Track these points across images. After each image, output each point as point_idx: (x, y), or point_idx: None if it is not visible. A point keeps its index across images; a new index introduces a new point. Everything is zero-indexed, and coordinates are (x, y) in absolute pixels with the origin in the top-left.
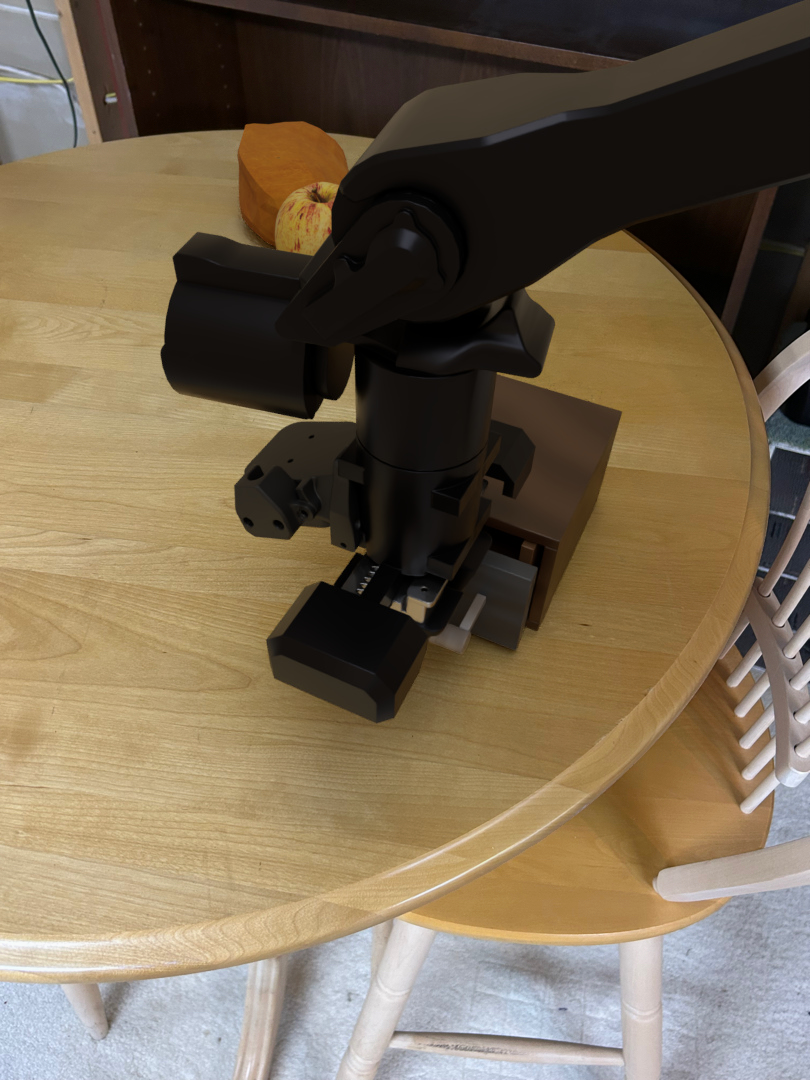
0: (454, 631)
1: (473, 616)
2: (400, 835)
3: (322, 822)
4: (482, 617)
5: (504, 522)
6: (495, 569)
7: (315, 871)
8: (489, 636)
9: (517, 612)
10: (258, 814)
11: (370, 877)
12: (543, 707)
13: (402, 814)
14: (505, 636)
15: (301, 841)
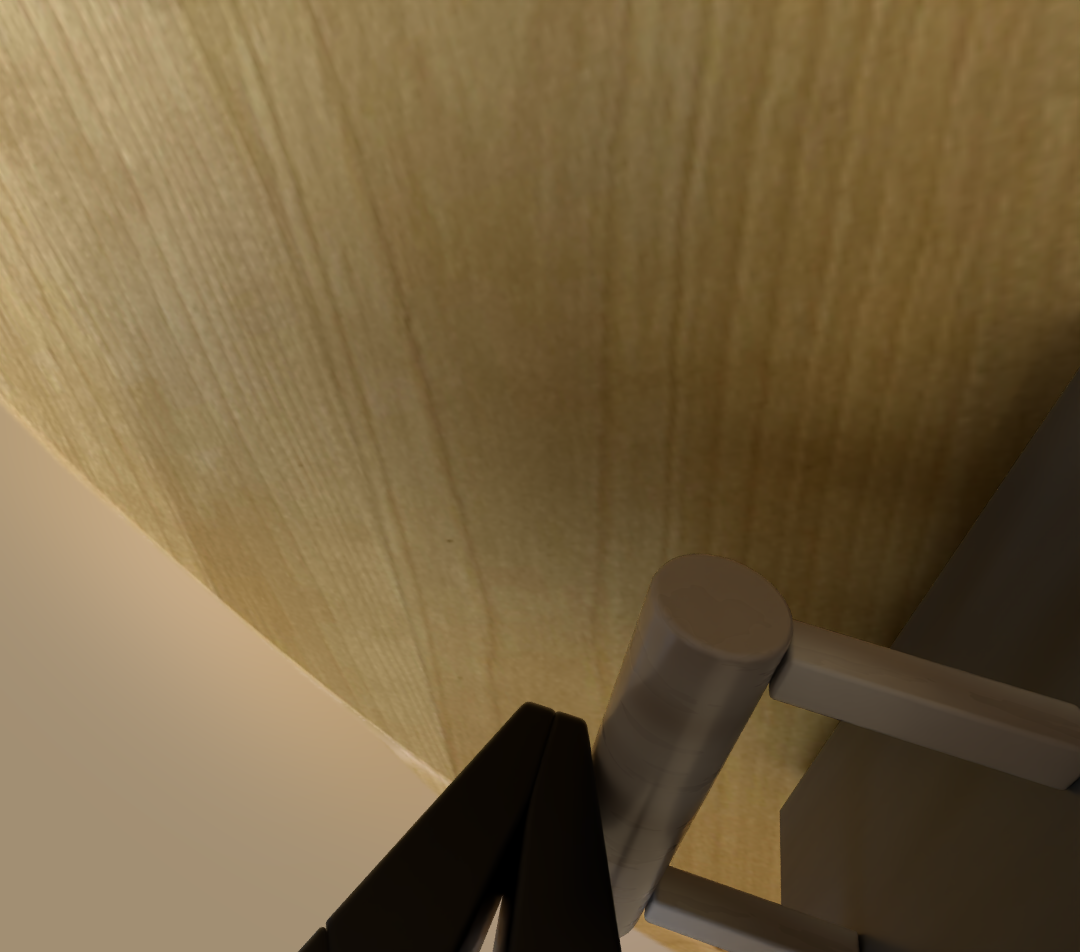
0: None
1: (717, 946)
2: (202, 533)
3: (119, 353)
4: (833, 846)
5: None
6: None
7: (21, 365)
8: (814, 780)
9: None
10: (21, 154)
11: (92, 484)
12: None
13: (245, 533)
14: (795, 839)
15: (49, 311)
